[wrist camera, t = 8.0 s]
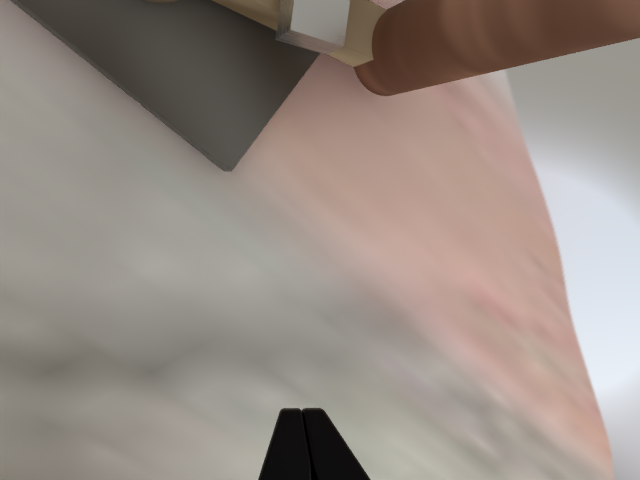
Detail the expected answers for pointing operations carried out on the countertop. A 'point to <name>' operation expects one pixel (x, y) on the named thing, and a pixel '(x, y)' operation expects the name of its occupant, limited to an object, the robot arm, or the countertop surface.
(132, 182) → the countertop surface
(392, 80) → the link
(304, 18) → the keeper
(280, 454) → the robot arm
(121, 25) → the base plate
